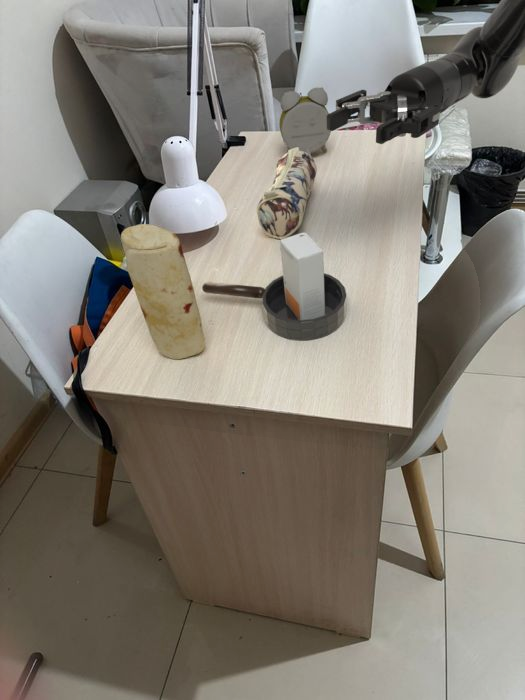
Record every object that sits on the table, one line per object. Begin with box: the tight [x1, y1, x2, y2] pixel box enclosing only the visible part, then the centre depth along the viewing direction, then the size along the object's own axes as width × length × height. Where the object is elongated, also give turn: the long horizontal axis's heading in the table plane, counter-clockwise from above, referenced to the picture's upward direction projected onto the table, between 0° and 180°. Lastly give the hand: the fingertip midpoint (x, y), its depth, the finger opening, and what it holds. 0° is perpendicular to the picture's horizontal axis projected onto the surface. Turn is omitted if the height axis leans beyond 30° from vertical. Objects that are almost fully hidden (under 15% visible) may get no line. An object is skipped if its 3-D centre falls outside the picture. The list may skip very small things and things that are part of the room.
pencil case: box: [256, 147, 318, 240], centre depth 101 cm, size 22×8×10 cm, turn 168°
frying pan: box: [261, 272, 348, 342], centre depth 79 cm, size 13×13×4 cm
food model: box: [120, 223, 206, 360], centre depth 71 cm, size 10×7×20 cm
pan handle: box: [201, 281, 265, 300], centre depth 82 cm, size 11×2×2 cm, turn 73°
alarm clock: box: [279, 86, 332, 157], centre depth 118 cm, size 12×7×15 cm, turn 94°
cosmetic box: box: [279, 231, 325, 320], centre depth 76 cm, size 6×4×12 cm
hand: (352, 129), depth 69 cm, fingers open, 8 cm apart
